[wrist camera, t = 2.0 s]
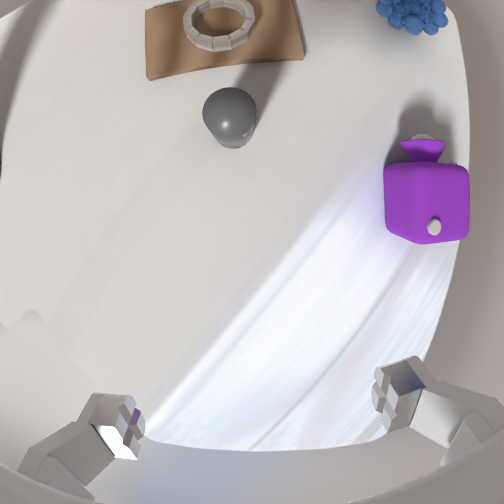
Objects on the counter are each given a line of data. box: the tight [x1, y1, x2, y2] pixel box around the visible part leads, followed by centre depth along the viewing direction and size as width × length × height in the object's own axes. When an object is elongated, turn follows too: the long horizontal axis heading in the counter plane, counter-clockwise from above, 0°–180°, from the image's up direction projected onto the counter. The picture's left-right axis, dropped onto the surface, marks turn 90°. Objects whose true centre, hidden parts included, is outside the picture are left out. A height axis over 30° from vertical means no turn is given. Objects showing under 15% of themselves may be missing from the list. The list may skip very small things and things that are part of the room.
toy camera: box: [383, 134, 470, 244], centre depth 30 cm, size 11×14×10 cm
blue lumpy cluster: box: [376, 0, 448, 35], centre depth 23 cm, size 12×7×12 cm, turn 82°
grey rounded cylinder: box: [202, 87, 256, 148], centre depth 28 cm, size 5×5×10 cm
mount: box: [145, 0, 305, 81], centre depth 27 cm, size 20×12×4 cm, turn 97°
